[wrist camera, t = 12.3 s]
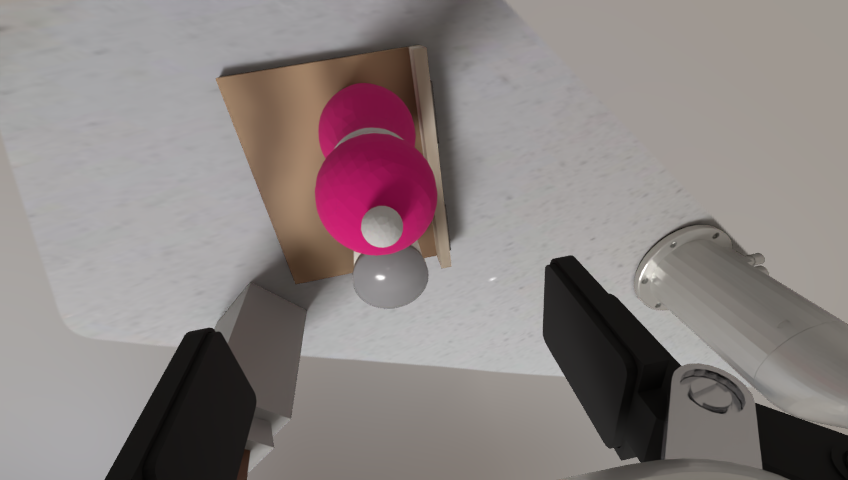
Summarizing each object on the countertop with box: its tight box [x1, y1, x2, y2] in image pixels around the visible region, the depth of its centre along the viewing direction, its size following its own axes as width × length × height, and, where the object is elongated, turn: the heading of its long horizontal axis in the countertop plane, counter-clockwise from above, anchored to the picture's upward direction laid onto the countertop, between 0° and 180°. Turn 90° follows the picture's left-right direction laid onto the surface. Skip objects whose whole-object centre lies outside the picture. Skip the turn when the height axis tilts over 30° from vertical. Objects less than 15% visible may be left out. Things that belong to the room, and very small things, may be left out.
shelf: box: [216, 45, 451, 284], centre depth 34 cm, size 16×20×4 cm
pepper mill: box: [315, 83, 438, 256], centre depth 24 cm, size 7×7×20 cm
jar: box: [353, 240, 428, 309], centre depth 35 cm, size 6×6×8 cm
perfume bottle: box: [214, 282, 307, 480], centre depth 34 cm, size 7×7×18 cm
